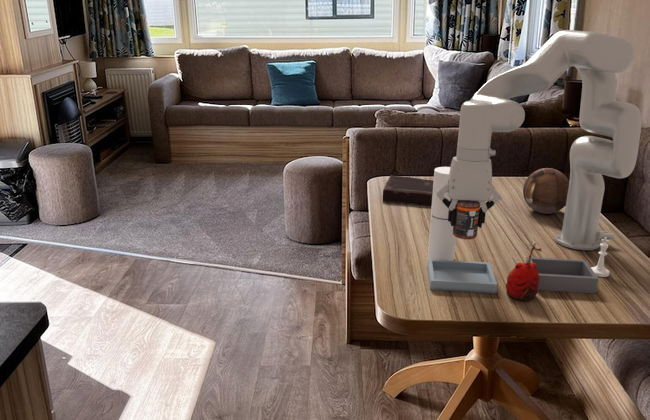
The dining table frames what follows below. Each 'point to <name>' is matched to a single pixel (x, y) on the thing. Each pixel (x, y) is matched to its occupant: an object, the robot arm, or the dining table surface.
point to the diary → (408, 190)
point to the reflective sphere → (546, 190)
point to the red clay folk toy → (523, 280)
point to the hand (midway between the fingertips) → (465, 224)
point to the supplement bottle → (466, 219)
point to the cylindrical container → (440, 221)
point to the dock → (565, 275)
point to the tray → (461, 276)
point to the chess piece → (601, 261)
